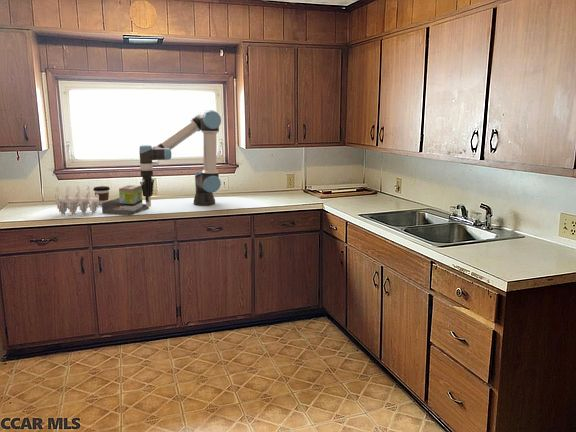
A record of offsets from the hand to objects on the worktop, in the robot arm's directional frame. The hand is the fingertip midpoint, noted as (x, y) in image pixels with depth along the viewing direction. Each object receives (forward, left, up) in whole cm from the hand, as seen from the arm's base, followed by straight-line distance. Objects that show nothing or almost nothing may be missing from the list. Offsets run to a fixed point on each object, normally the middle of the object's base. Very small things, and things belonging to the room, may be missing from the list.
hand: (148, 206), depth 306 cm
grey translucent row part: (+41, +16, -4) cm, 44 cm away
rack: (+17, 0, -4) cm, 17 cm away
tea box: (+13, 0, -3) cm, 13 cm away
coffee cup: (+46, -15, -4) cm, 48 cm away
